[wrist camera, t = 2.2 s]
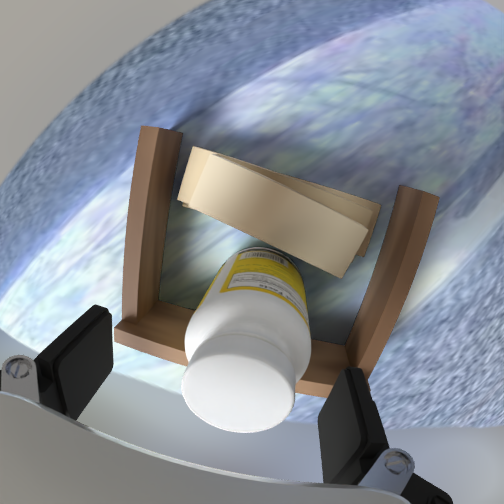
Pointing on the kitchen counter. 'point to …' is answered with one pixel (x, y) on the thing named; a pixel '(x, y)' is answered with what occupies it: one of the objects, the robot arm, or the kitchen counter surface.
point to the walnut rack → (177, 318)
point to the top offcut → (277, 215)
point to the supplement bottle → (248, 343)
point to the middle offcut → (320, 195)
